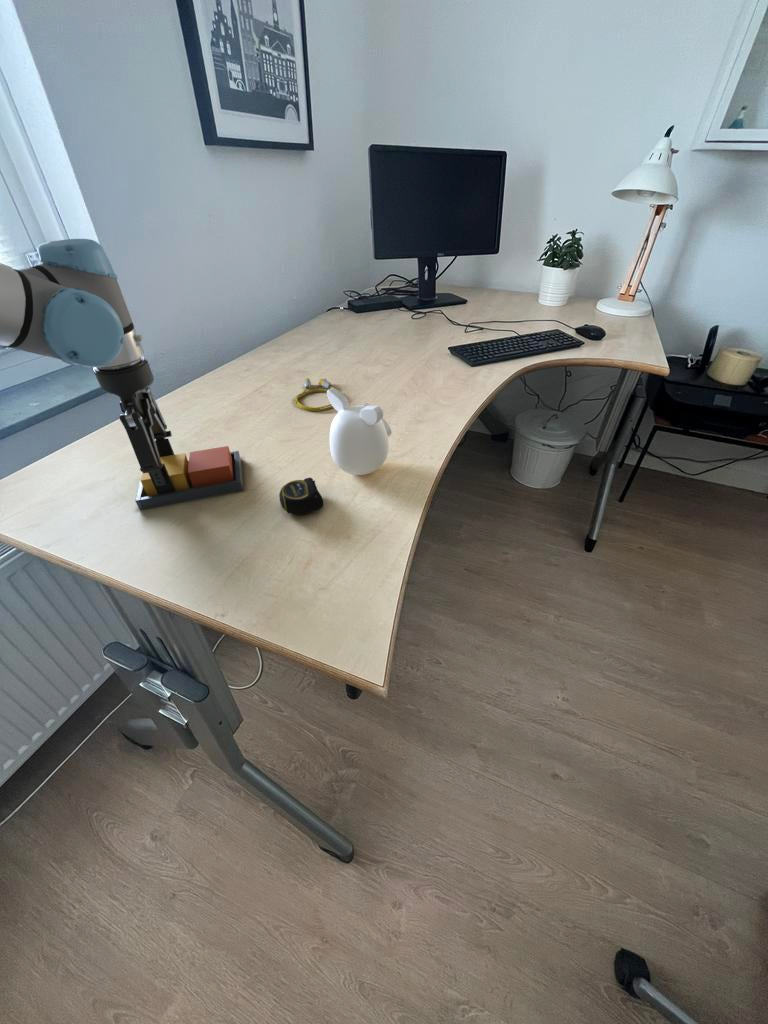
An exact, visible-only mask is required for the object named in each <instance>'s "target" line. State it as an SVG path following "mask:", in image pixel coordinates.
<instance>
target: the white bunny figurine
mask: <svg viewBox="0 0 768 1024" xmlns="http://www.w3.org/2000/svg"><path fill="white" fill-rule="evenodd" d="M327 390H328V391H327V392H326V396H327V398H328V401H329V404H331V406H333V409H334V410H335V411H336V412H337V413H336V414H335V416H334V418H333V420H332V422H331V424H330V429H329V450H330V455H331V458H332V460H333V462H334V464H335V465H336V466H337V467H338V468H339V469H340V470H342V471H343V472H344V473H347V474H349V475H354V476H365V475H368V474H372V473H374V472H376V471H377V470H378V469H381V467H382V466H383V465H384V463H385V462H386V461H387V458H388V456H389V450H390V445H389V444H390V443H389V437H390V436H392V429H391V427H390V425H389V424H388V422H387V420H386V419H385V418H384V411H383V408H381V406H380V405H370V404H369V403H368V402H365V403H364V404H362V405H351V406H350V404H349V400H348V399H347V397H346V396H345V395H344V394H343V393H342V392H341V391H339V390H338V389H336V388H335V387H332V388H331V389H327Z"/></svg>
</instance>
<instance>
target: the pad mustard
mask: <svg viewBox="0 0 768 1024" xmlns="http://www.w3.org/2000/svg"><path fill="white" fill-rule="evenodd" d="M160 459H161V463H162V464H165V467H166V469H167V472H168V474H169V476H170V479H171V481H172V484H173V486H174V488H175V491H180V490H185V489H190V485H191V479H190V477H189V474H188V466H189V462H188V459H189V458H188V456H187V454H186V453H185V452H183V453H178V454H177V453H176V454H175V455H170V456H164V457H160ZM141 474H142V476H141V475H140V479H141V480H140V479H139V482H140V481H141V483H142V485H143V487H144V490H145V492H146V494H147V496H152V495H158V493H157V491H156V489H155V487H154V484H153V482H152V480H151V478H150V476H149V473H143V472H141Z"/></svg>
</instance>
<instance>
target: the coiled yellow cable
mask: <svg viewBox="0 0 768 1024" xmlns="http://www.w3.org/2000/svg"><path fill="white" fill-rule="evenodd" d="M303 386H304V390H303V391H302V392H301V393H299V394H297V395H296V397H295V399H294V404H295V405H296V407H298V408H300V409H302V410H304V411H309V412H323V411H327V410H328V411H329V410H331V409H334V407H333V406H332V405H331V403H329V404H327V405H324V406H318V407H312V406H306V405H304V404H302V403H301V402H299V399H301V398H302V397H304V396H307V395H310V394H312V393H327V391H328V390H329V389H331V388H333V384H332V383H331V382H329V381H328V380H327V379H326V378H320V379H319V381H318V386H321V387H323V388H325V389H321V388H320V389H319V388H316V389H315V388H314V389H313V388H312V389H311V387H312V383H311V380H310V378H305V379H304V382H303Z"/></svg>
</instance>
